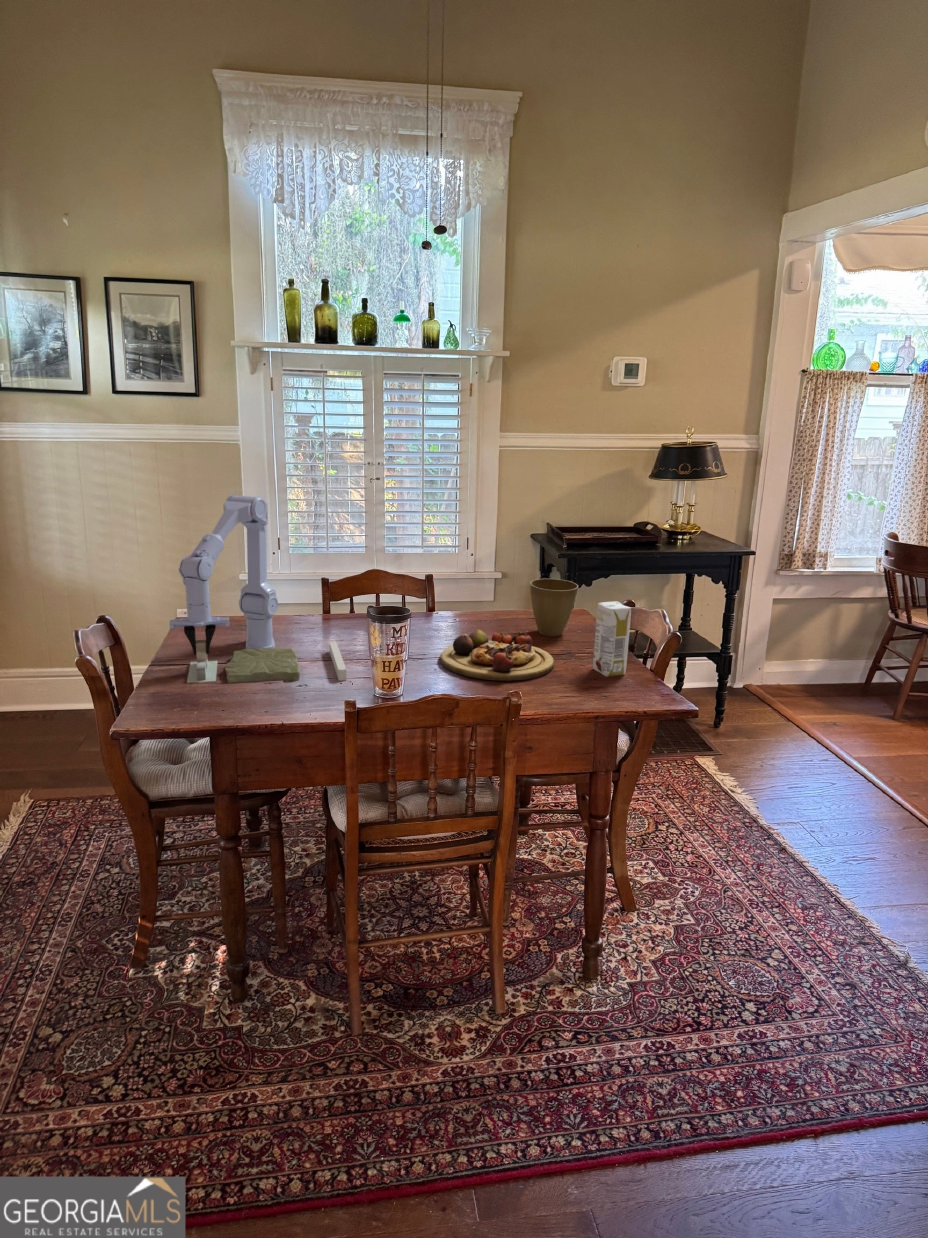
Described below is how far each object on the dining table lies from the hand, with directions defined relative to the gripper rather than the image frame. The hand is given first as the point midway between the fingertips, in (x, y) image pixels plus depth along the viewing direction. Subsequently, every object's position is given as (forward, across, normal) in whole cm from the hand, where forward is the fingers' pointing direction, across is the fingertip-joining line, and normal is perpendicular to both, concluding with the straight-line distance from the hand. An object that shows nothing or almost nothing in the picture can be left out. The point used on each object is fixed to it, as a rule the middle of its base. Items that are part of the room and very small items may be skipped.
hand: (201, 653), depth 211 cm
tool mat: (+5, 0, 0) cm, 5 cm away
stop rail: (+5, +35, 0) cm, 35 cm away
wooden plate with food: (+6, +79, -5) cm, 79 cm away
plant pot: (+6, +104, +19) cm, 106 cm away
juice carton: (+6, +107, -18) cm, 109 cm away
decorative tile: (+6, +15, 0) cm, 16 cm away
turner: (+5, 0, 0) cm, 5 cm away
